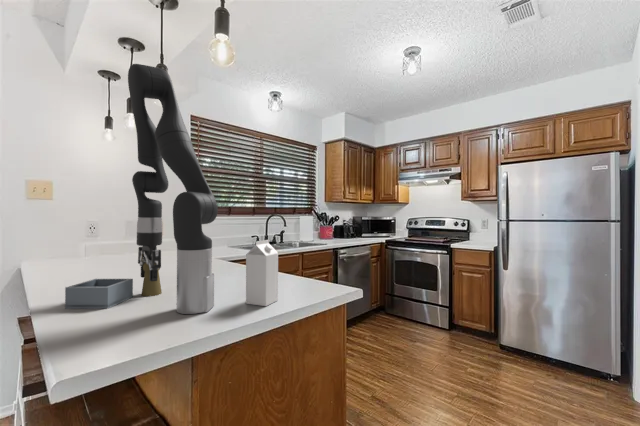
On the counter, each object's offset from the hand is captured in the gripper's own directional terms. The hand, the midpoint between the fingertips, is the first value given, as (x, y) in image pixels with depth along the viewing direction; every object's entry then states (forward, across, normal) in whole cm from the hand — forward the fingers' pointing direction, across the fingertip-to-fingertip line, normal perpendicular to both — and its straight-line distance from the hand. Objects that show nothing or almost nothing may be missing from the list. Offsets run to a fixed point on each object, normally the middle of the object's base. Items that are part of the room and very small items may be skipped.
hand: (148, 279), depth 103 cm
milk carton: (+5, -36, -20) cm, 41 cm away
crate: (+5, 0, +13) cm, 14 cm away
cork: (+5, 0, -1) cm, 5 cm away
